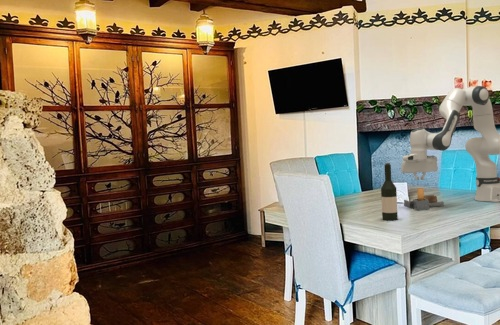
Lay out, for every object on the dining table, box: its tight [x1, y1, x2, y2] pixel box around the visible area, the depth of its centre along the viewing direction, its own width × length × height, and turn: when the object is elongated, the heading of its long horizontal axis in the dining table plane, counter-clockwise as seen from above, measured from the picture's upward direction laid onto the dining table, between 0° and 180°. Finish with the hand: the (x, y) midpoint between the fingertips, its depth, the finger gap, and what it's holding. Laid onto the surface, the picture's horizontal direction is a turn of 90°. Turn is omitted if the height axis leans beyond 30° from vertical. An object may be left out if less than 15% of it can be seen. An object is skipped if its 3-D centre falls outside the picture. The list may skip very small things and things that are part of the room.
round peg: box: [416, 187, 425, 201], centre depth 256 cm, size 4×4×9 cm
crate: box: [424, 194, 438, 203], centre depth 266 cm, size 6×6×5 cm
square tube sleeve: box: [412, 198, 430, 211], centre depth 257 cm, size 7×7×6 cm
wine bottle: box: [380, 162, 399, 222], centre depth 233 cm, size 8×8×30 cm
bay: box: [403, 199, 445, 209], centre depth 266 cm, size 20×10×4 cm, turn 89°
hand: (419, 179), depth 256 cm, fingers closed
